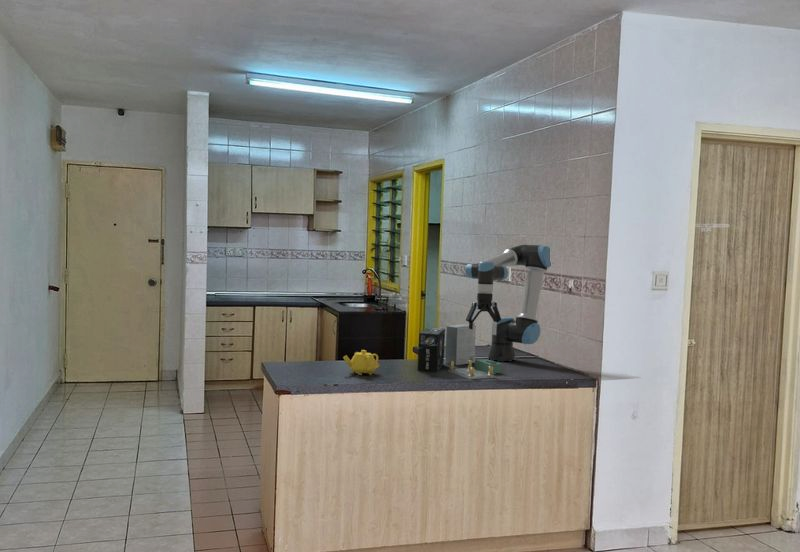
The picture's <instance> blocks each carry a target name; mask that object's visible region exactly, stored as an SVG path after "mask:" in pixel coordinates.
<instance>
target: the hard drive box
mask: <svg viewBox="0 0 800 552" xmlns="http://www.w3.org/2000/svg"><path fill="white" fill-rule="evenodd" d="M445 327H446V328H445V355H444V358H445V363H444V364H446V365H450V361H454V366H462V365H468V360H472V364H475V357H476V330H477V328H476V325H475V329H474V336H471V335H470V329H469V323H468V324H465V323H464V324H454V325H446V326H445Z"/></svg>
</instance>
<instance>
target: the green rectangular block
mask: <svg viewBox="0 0 800 552" xmlns="http://www.w3.org/2000/svg"><path fill="white" fill-rule="evenodd" d="M502 365H503V364H502V363H501V362H498V361H494V360H489V359H488V358H482V359H481V358H480V359H479V358H478V359H475V363H474V369H476V370H479V371H482V372H485V373H488V374H489V366H493V375H496V373H500V374H502Z"/></svg>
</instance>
